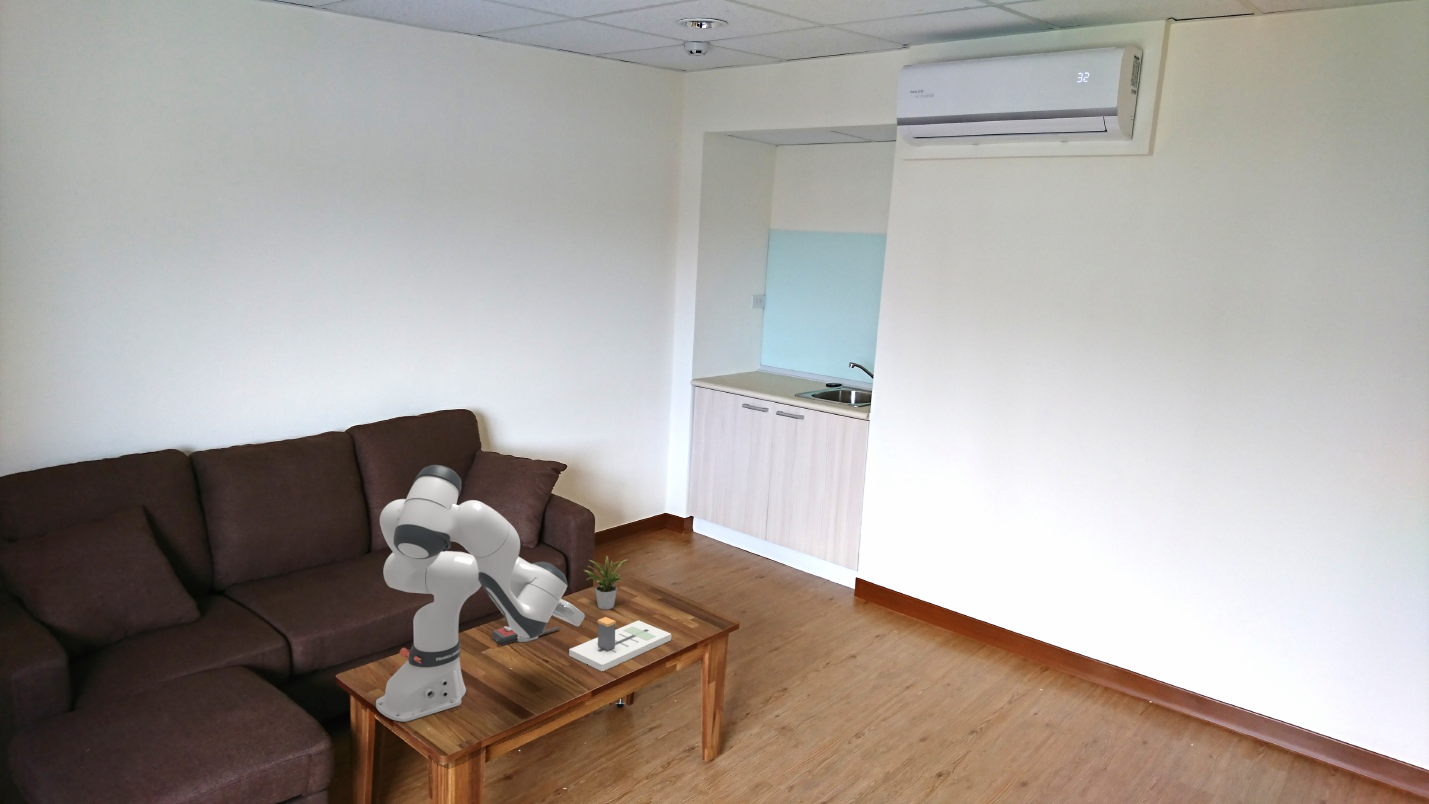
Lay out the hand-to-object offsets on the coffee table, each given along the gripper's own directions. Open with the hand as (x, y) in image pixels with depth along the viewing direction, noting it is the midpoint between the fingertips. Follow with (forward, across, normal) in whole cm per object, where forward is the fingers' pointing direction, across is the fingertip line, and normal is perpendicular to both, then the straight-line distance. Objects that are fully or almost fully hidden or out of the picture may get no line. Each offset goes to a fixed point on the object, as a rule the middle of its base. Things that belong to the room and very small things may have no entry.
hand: (568, 619), depth 250 cm
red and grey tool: (+15, +27, +7) cm, 32 cm away
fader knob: (+19, 0, -1) cm, 19 cm away
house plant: (+39, +26, -17) cm, 50 cm away
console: (+25, 0, -4) cm, 26 cm away
